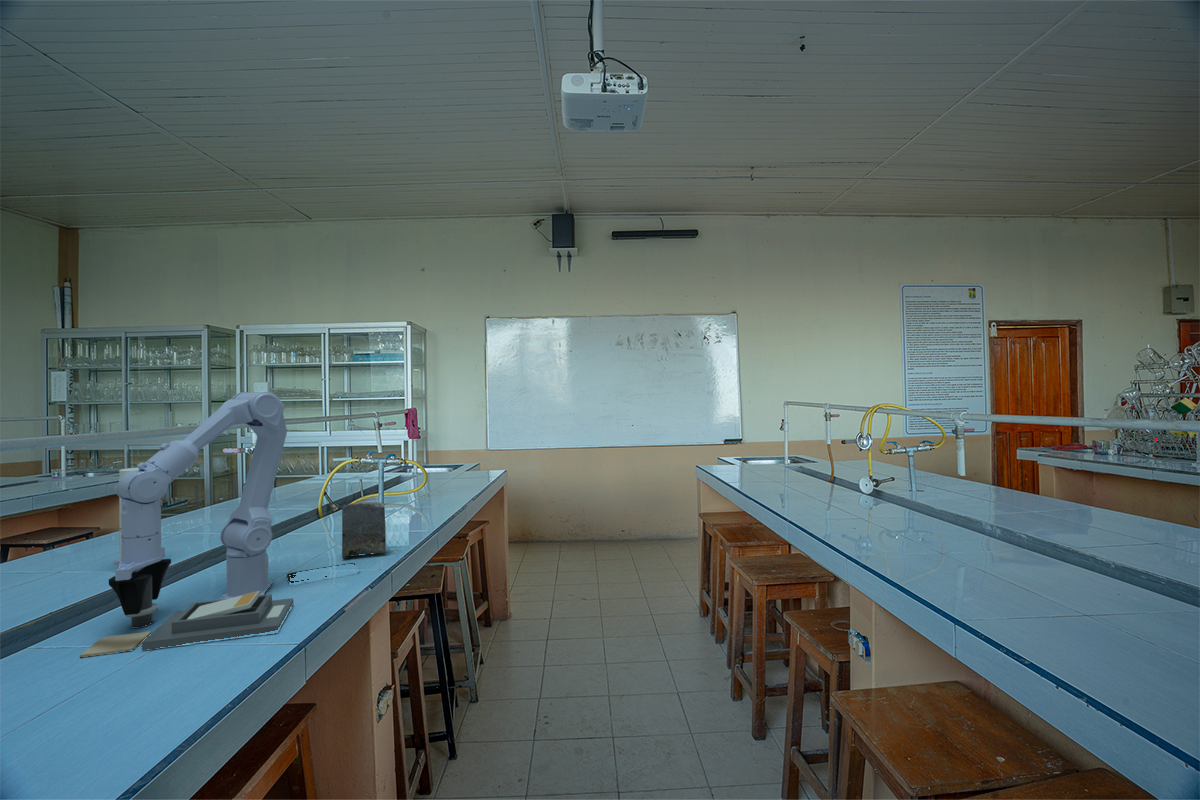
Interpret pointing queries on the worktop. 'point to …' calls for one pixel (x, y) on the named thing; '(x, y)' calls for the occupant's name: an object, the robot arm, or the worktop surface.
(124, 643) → the pad
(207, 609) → the rocker switch
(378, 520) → the geological specimen
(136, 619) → the dark round-ended cylinder
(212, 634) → the switch panel
